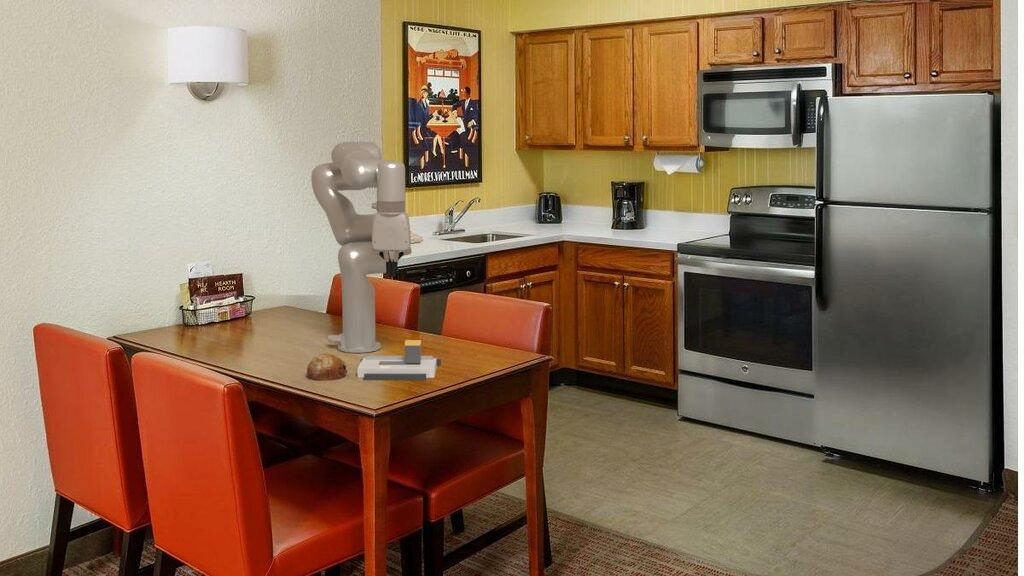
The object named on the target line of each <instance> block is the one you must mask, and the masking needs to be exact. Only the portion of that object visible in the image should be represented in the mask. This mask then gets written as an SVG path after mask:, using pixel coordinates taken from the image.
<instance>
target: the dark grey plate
mask: <svg viewBox="0 0 1024 576" xmlns="http://www.w3.org/2000/svg"><path fill="white" fill-rule="evenodd" d="M362 360H363V358H361V359H360V362H361V361H362ZM441 365H442V359H441V358H437V366H441ZM363 380H364V381H427V378H426V374H369V373H365V374H364V377H363Z"/></svg>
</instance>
